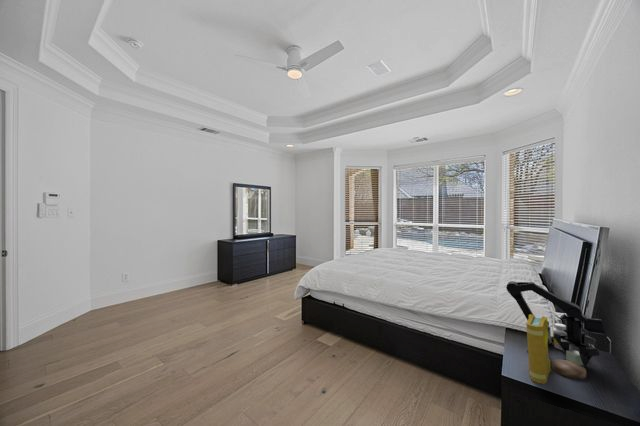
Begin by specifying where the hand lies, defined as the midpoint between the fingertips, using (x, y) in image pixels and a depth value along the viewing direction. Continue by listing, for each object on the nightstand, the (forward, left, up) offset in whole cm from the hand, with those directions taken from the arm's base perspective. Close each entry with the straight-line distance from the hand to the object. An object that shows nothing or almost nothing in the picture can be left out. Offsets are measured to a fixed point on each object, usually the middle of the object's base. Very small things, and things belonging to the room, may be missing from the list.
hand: (576, 360), depth 130 cm
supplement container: (+1, +24, -1) cm, 24 cm away
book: (-25, -9, -1) cm, 27 cm away
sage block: (0, 0, -1) cm, 1 cm away
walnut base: (-10, -7, -1) cm, 12 cm away
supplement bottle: (+6, +15, -1) cm, 16 cm away
